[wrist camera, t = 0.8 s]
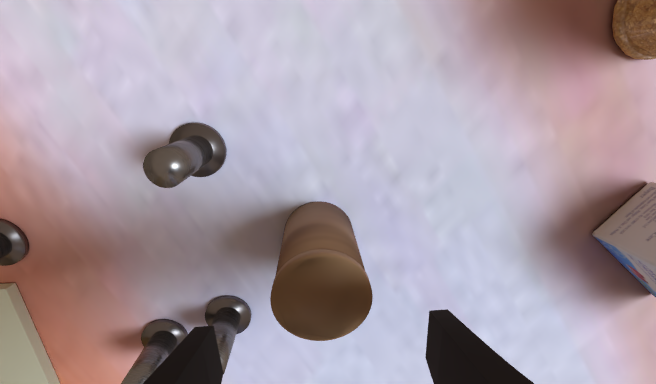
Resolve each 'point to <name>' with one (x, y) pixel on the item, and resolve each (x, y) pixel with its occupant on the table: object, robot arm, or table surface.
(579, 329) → the table surface
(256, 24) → the table surface
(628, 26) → the sprinkles bottle
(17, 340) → the pad
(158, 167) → the slalom posts
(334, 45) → the table surface
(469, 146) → the table surface
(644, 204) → the medicine box
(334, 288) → the walnut peg
